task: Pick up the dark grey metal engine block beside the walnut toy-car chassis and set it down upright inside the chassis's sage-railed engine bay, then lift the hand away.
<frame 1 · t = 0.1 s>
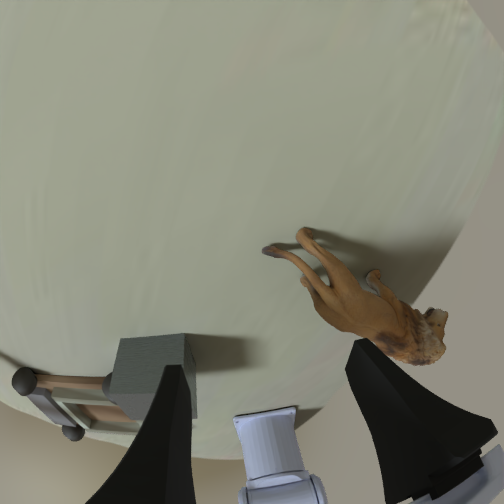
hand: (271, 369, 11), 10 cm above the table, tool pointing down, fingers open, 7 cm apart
engine block: (158, 352, 24), on the table
toy car chassis: (93, 401, 27), on the table
lion figurine: (347, 270, 22), on the table
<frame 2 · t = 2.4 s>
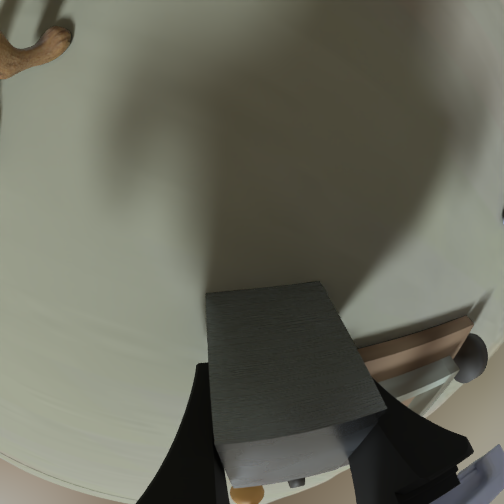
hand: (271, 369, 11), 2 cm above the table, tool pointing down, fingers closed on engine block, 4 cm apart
engine block: (264, 340, 12), on the table, touching gripper
toy car chassis: (367, 413, 19), on the table
figurine: (252, 477, 26), on the table
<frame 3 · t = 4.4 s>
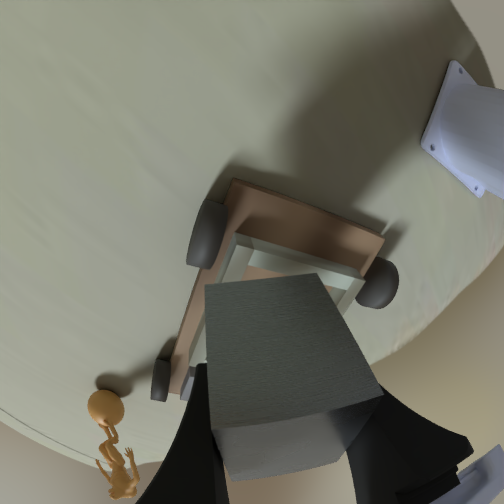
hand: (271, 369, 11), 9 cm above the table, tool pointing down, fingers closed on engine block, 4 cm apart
engine block: (262, 332, 13), point 7 cm above the table, touching gripper
toy car chassis: (256, 324, 21), on the table
figurine: (117, 395, 25), on the table
when the fingers open (4 cm above the table, at t = 6.5 s): engine block stays where it is, resting on toy car chassis.
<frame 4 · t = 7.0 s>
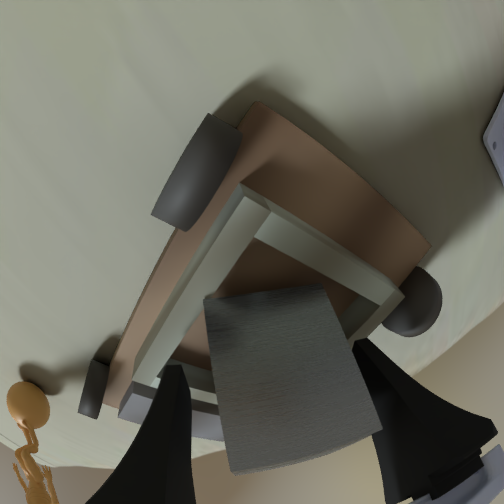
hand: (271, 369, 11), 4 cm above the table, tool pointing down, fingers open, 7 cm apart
engine block: (259, 333, 12), point 2 cm above the table, tilted 13°, touching toy car chassis
toy car chassis: (236, 336, 15), on the table
figurine: (44, 391, 16), on the table
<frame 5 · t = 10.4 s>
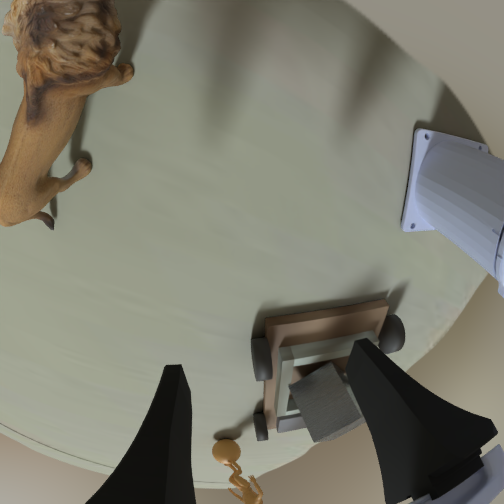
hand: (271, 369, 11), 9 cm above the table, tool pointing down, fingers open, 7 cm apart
engine block: (319, 379, 25), point 2 cm above the table, tilted 14°, touching toy car chassis
toy car chassis: (314, 376, 28), on the table
lion figurine: (78, 110, 13), on the table
figurine: (231, 439, 34), on the table
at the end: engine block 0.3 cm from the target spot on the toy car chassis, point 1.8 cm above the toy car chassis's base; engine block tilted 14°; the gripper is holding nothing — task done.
